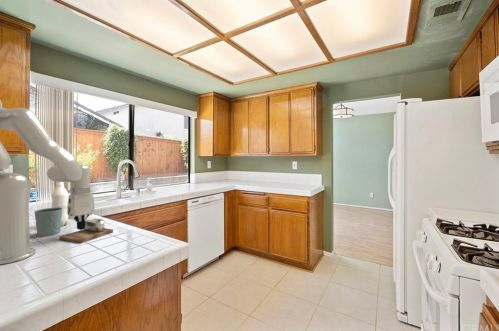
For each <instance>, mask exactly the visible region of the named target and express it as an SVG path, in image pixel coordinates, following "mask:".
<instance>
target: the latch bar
mask: <svg viewBox="0 0 499 331" xmlns="http://www.w3.org/2000/svg"><path fill="white" fill-rule="evenodd" d="M98 219H99V220H98V221H96V220H92V219H87V220H85V229H86V230H92V231H96V232H100V231H104V230H105V228H106V227H105V220H104V219H103V220H102V218H98Z"/></svg>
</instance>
